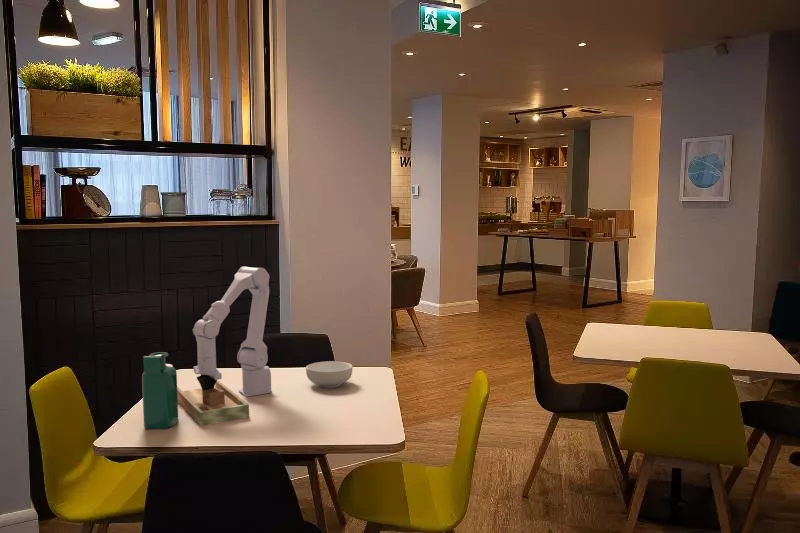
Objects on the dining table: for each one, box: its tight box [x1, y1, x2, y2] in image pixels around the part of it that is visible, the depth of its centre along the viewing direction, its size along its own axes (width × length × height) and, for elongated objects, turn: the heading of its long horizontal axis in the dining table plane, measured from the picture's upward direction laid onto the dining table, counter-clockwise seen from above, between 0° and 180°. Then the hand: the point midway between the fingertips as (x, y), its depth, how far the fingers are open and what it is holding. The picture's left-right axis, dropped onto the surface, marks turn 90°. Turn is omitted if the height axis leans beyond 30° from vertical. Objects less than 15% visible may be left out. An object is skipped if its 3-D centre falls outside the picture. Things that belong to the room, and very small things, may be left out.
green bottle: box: [141, 351, 179, 430], centre depth 198 cm, size 10×8×22 cm
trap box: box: [177, 380, 250, 427], centre depth 216 cm, size 15×33×4 cm, turn 31°
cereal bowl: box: [305, 360, 354, 389], centre depth 242 cm, size 17×17×7 cm
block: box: [202, 388, 225, 406], centre depth 214 cm, size 5×5×4 cm
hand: (208, 397), depth 217 cm, fingers closed
